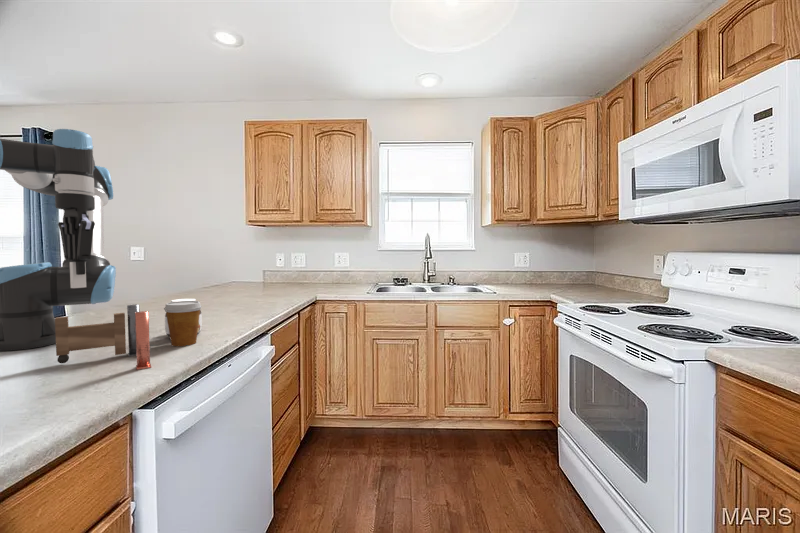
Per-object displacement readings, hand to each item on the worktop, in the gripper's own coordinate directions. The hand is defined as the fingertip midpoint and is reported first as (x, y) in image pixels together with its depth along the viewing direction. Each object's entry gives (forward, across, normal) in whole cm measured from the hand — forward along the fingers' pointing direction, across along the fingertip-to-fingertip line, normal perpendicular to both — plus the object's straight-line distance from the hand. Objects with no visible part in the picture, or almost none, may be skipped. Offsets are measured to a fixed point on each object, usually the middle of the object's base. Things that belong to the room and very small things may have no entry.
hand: (78, 287), depth 96 cm
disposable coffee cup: (+18, +10, +20) cm, 29 cm away
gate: (+17, +6, 0) cm, 19 cm away
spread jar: (+18, 0, +26) cm, 32 cm away
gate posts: (+18, +16, +5) cm, 25 cm away
